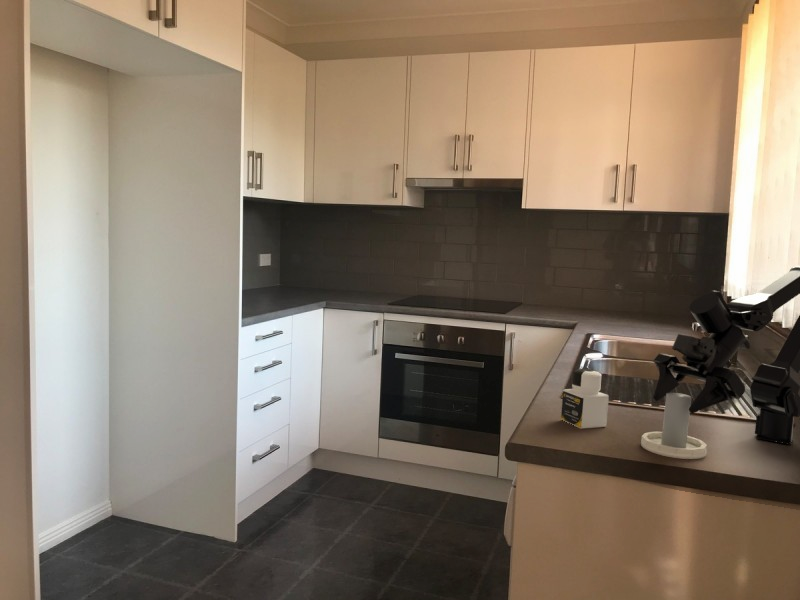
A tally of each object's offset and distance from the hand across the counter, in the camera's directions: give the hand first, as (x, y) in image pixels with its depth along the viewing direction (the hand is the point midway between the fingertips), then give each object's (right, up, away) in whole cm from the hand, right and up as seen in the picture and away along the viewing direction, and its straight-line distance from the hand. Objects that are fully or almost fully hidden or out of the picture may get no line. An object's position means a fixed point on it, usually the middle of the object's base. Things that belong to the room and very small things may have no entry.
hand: (671, 405), depth 132 cm
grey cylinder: (+1, -8, +1) cm, 8 cm away
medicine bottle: (-13, -7, +17) cm, 22 cm away
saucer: (+1, -9, +1) cm, 9 cm away
